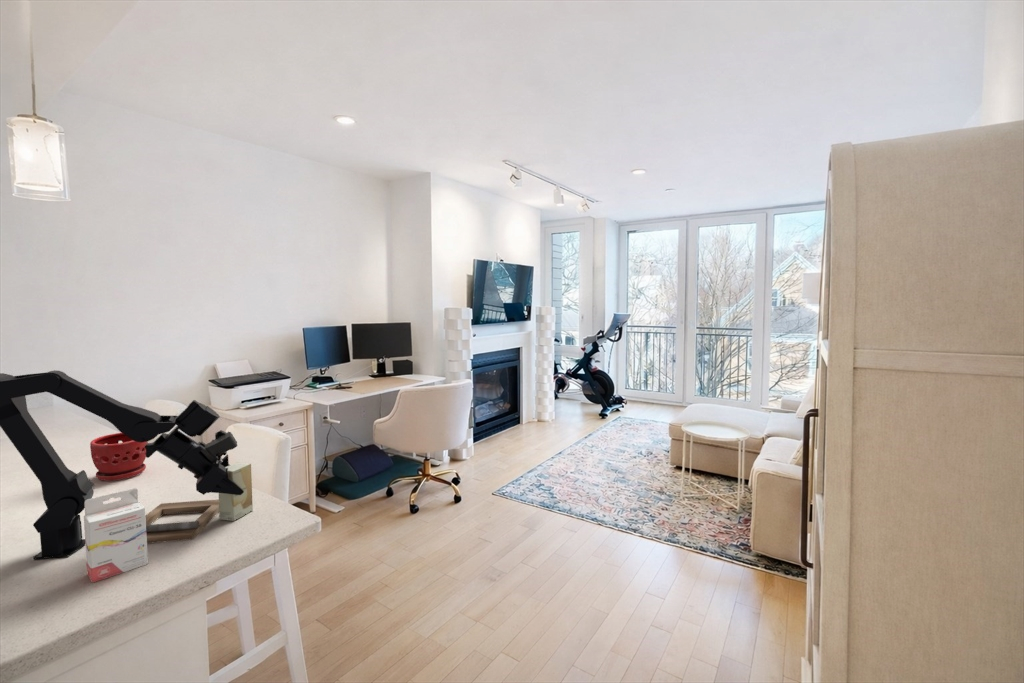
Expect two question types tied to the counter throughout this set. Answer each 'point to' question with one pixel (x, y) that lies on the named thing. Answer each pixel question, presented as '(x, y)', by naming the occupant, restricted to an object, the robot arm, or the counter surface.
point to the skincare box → (237, 504)
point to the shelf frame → (182, 528)
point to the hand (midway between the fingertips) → (242, 487)
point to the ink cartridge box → (114, 535)
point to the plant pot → (117, 457)
